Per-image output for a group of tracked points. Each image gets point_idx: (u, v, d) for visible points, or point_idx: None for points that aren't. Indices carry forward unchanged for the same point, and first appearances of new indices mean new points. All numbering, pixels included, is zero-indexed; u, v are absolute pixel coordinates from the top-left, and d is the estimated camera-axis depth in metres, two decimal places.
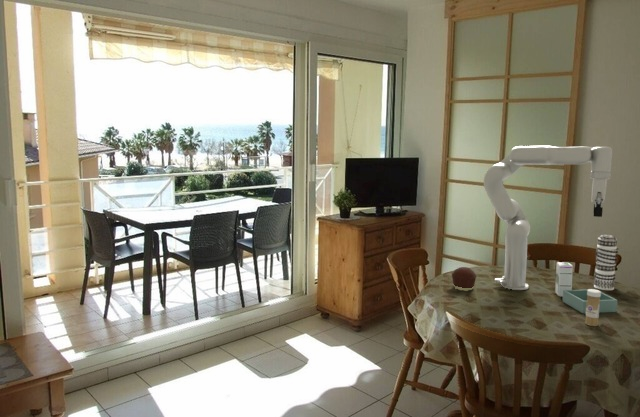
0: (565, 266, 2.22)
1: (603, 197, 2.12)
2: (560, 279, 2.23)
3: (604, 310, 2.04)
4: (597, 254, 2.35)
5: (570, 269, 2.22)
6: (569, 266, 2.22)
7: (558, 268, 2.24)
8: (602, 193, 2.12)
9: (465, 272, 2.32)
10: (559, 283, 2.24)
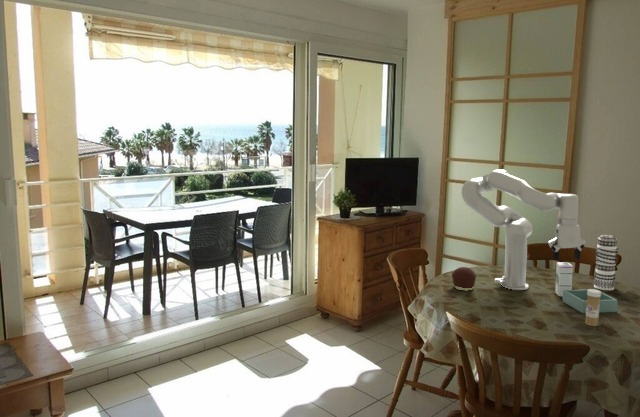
0: (565, 266, 2.22)
1: None
2: (560, 279, 2.23)
3: (604, 310, 2.04)
4: (597, 254, 2.35)
5: (570, 269, 2.22)
6: (569, 266, 2.22)
7: (558, 268, 2.24)
8: None
9: (465, 272, 2.32)
10: (559, 283, 2.24)
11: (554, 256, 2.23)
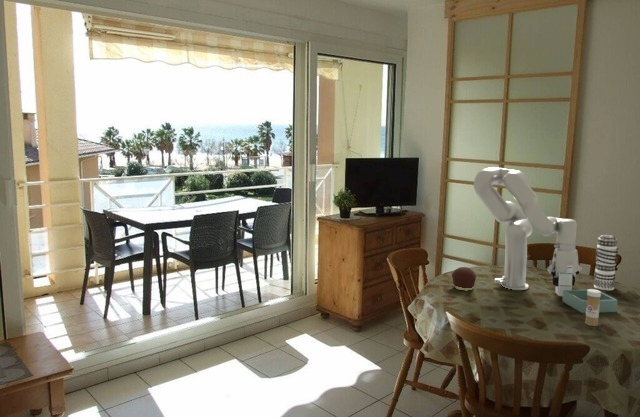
0: None
1: None
2: (560, 279, 2.23)
3: (604, 310, 2.04)
4: (597, 254, 2.35)
5: (570, 269, 2.22)
6: (569, 266, 2.22)
7: None
8: None
9: (465, 272, 2.32)
10: (559, 283, 2.24)
11: (554, 281, 2.25)
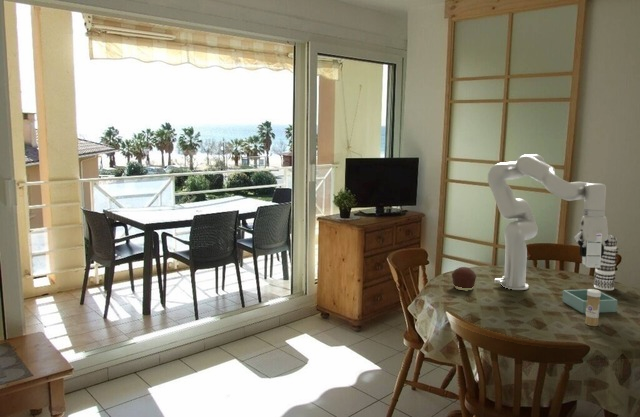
0: None
1: None
2: (588, 248, 2.06)
3: (604, 310, 2.04)
4: None
5: (599, 237, 2.04)
6: (598, 234, 2.04)
7: None
8: None
9: (465, 272, 2.32)
10: (587, 253, 2.06)
11: (581, 252, 2.07)
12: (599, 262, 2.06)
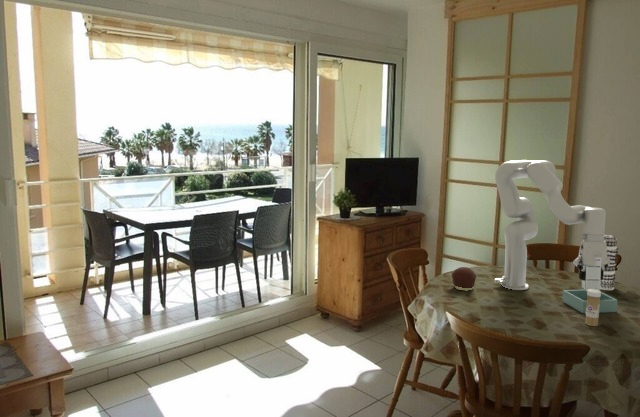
0: None
1: None
2: (588, 273, 2.07)
3: (604, 310, 2.04)
4: None
5: (598, 262, 2.05)
6: (597, 258, 2.05)
7: None
8: None
9: (465, 272, 2.32)
10: (586, 277, 2.07)
11: (580, 275, 2.08)
12: (598, 286, 2.07)
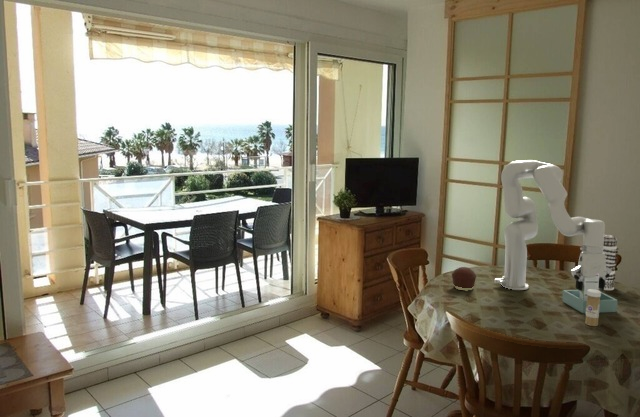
0: None
1: None
2: (586, 288, 2.08)
3: (604, 310, 2.04)
4: None
5: (596, 277, 2.06)
6: None
7: None
8: None
9: (465, 272, 2.32)
10: (584, 292, 2.08)
11: (577, 285, 2.09)
12: None
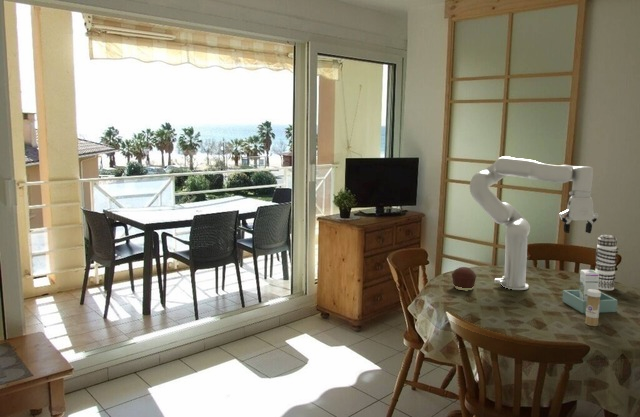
0: (591, 274, 2.07)
1: None
2: (586, 288, 2.08)
3: (604, 310, 2.04)
4: (597, 254, 2.35)
5: (596, 277, 2.06)
6: (595, 274, 2.06)
7: (583, 276, 2.08)
8: None
9: (465, 272, 2.32)
10: (584, 292, 2.08)
11: (565, 228, 2.22)
12: None
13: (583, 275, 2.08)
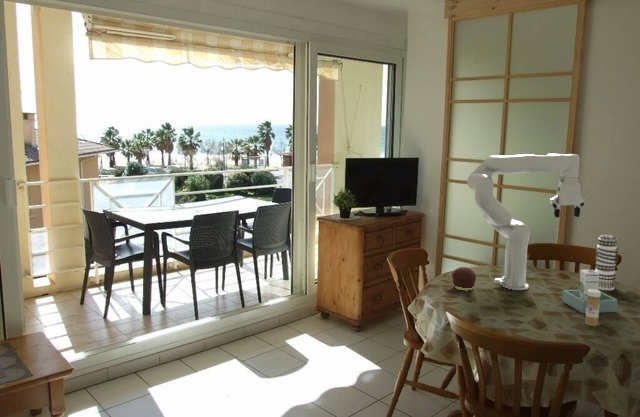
0: (591, 274, 2.07)
1: None
2: (586, 288, 2.08)
3: (604, 310, 2.04)
4: (597, 254, 2.35)
5: (596, 277, 2.06)
6: (595, 274, 2.06)
7: (583, 276, 2.08)
8: None
9: (465, 272, 2.32)
10: (584, 292, 2.08)
11: (555, 213, 2.35)
12: None
13: (583, 275, 2.08)
